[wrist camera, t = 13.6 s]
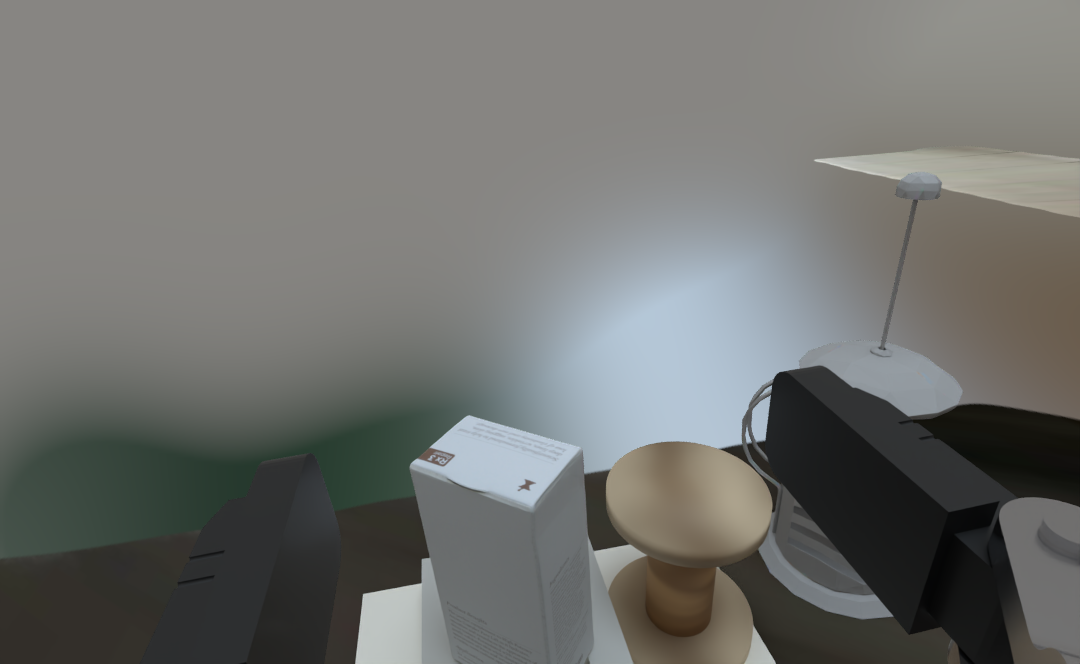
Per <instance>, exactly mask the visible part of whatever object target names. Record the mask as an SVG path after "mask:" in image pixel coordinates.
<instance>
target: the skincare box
mask: <svg viewBox="0 0 1080 664" xmlns="http://www.w3.org/2000/svg"><path fill="white" fill-rule="evenodd" d="M410 472H411V476H412V481H413V485H414V488H415V493H416V498H417V502H418V507H419V511H420V515H421V520H422V524H423V528H424V533H425V537H426V542H427V546H428V550H429V555H430V559H431V563H432V568H433V572H434V577H435V581H436V586H437V590H438V594H439V599H440V603H441V608H442V612H443V616H444V620H445V625H446V630H447V634H448V639H449V643H450V648H451V652H452V656H453V658H454V659H455V660H457V661H459V662H461V663H463V664H584V662H585V660H586V658H587V657H588V654H589V653H590V651H591V649H592V647H593V645H594V634H593V620H592V599H591V584H590V566H589V549H588V531H587V515H586V499H585V487H584V463H583V451H582V448H581V447H578V446H574V445H570V444H566V443H563V442H559V441H556V440H553V439H549V438H545V437H542V436H539V435H535V434H532V433H528V432H524V431H521V430H518V429H514V428H511V427H507V426H503V425H500V424H497V423H493V422H490V421H486V420H482V419H479V418H476V417H473V416H467V417H465V418H464V419H463V420H461V421H460V422H459V423H458V424H457V425H455V426H454V427H453V428H452V429H451V430H449V431H448V432H447V433H446V434H445V435H444V436H443V437H442V438H440V439H439V440H438V441H437V442H436V443H434V444H433V445H432V446H431V447H430V448H429V449H428V450H427V451H425V452H424V453H423V454H422V455H421V456H420V457H419V458H417V459H416V460H415V461H413V462H412V464H411V465H410Z"/></svg>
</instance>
